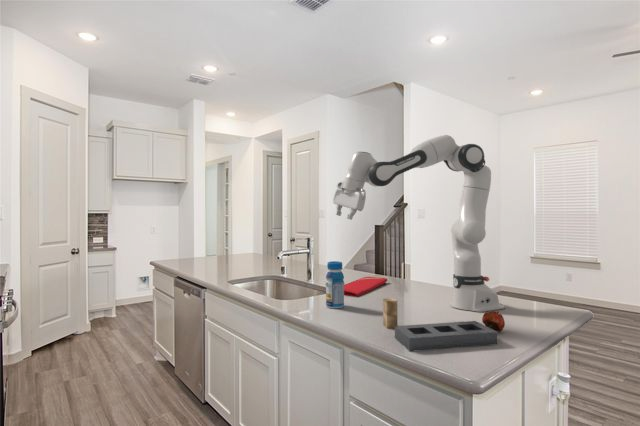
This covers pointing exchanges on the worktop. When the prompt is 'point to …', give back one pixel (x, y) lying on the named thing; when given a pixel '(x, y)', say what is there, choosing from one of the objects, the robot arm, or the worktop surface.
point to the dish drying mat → (363, 286)
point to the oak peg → (390, 312)
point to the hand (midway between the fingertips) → (343, 217)
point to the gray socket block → (445, 335)
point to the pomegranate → (493, 320)
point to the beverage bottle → (334, 285)
